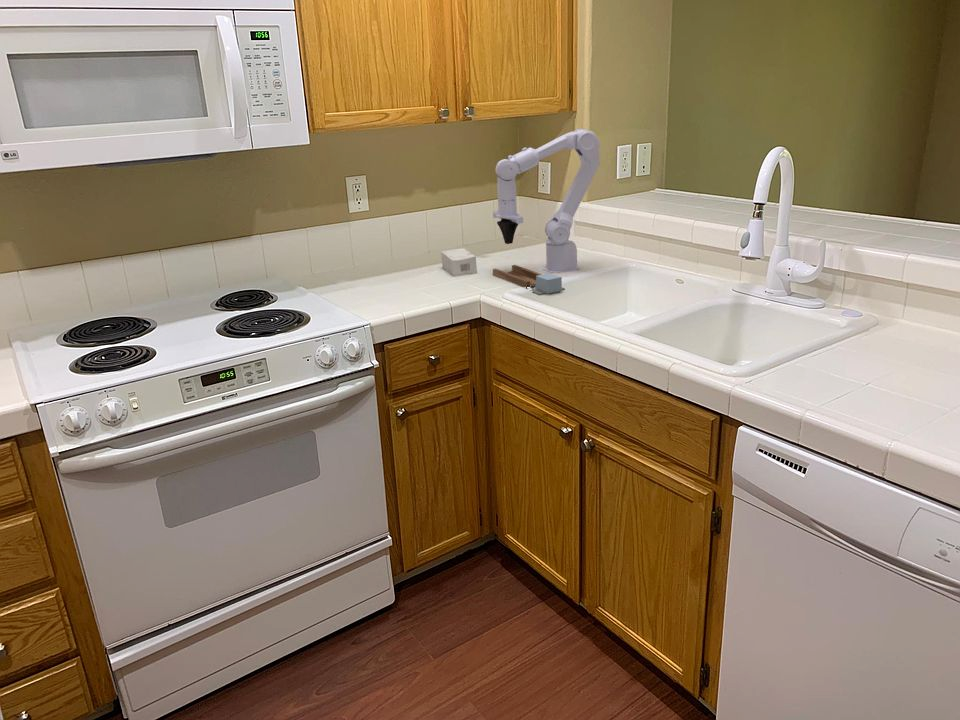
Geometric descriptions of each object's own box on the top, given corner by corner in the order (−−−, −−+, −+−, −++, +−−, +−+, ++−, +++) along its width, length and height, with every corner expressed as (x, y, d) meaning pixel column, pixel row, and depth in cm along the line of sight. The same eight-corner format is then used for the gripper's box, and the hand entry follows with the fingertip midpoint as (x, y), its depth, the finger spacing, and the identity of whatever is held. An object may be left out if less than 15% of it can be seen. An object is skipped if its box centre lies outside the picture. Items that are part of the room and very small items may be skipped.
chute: (516, 271, 235) (515, 264, 234) (564, 289, 213) (564, 281, 212) (492, 276, 231) (491, 269, 230) (539, 295, 209) (538, 287, 208)
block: (549, 286, 215) (549, 273, 214) (561, 290, 210) (561, 277, 209) (536, 289, 213) (536, 275, 212) (547, 293, 208) (547, 280, 207)
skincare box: (452, 260, 230) (439, 250, 243) (454, 278, 232) (441, 267, 245) (477, 256, 232) (463, 246, 245) (478, 274, 235) (464, 263, 248)
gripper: (484, 198, 228) (486, 241, 233) (508, 204, 217) (510, 249, 222) (503, 196, 232) (504, 238, 237) (528, 201, 220) (529, 245, 225)
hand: (508, 243), depth 229 cm, fingers closed
